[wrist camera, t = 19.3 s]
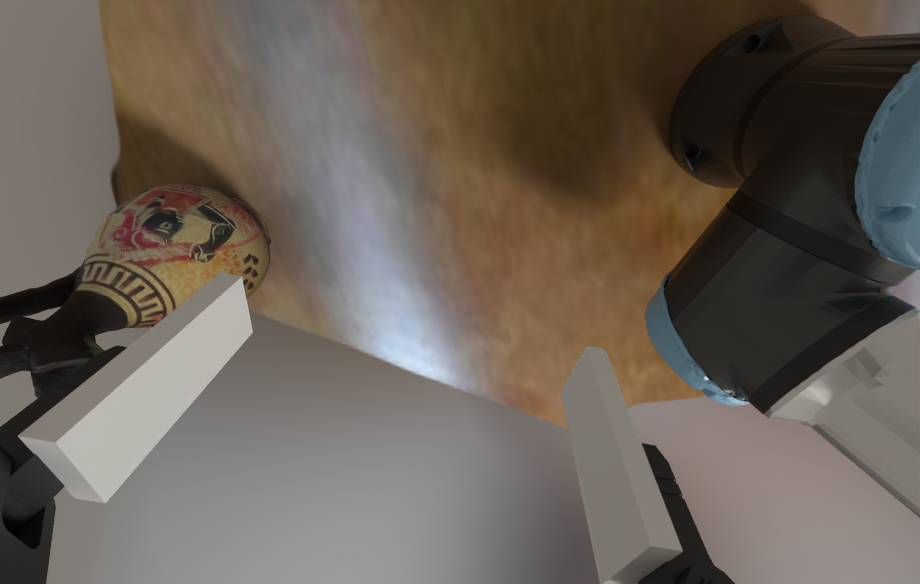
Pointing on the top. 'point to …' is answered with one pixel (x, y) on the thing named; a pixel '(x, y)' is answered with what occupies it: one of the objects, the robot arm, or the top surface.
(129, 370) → the robot arm
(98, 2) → the top surface
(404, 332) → the top surface
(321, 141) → the top surface
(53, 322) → the ceramic jug
